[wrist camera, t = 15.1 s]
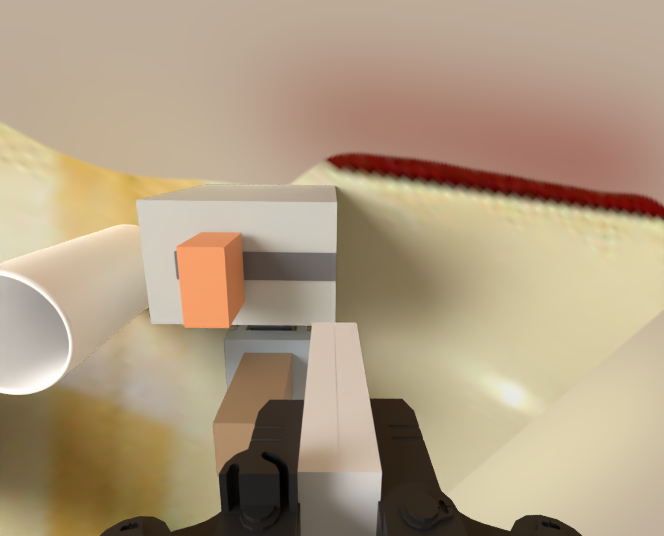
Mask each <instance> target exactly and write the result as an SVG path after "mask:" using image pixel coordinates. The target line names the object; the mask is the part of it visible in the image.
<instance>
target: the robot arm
mask: <svg viewBox="0 0 664 536" xmlns="http://www.w3.org/2000/svg"><path fill="white" fill-rule="evenodd" d="M219 485H220V497H221V510H222V511H221V512H220V513H219V514H217V515H215V516H214V517H212V518H211V519H209V520H207V521H204V522H202V523H199V524H197V525H194V526H190V527H187V528H183V529H180V530H176V531H173V532H170V530H169V528H168V527H167V525H166V523H165V522H163V521H161V520H159V519H157V518H155V517H147V516H138V517H135V518H131V519H127V520H124V521H121V522H119V523H118V524H116V525H114V526H112V527H110V528H109V529H107V530H105V531H104V532H103V533H102V534H101V535H100V536H582V535H581V534H580V533H578V532H577V531H576V530H575V529H574V528H572V527H570V526H568V525H566V524H564V523H563V522H561V521H559V520H557V519H554V518H550V517H546V516H543V515H526V516H524V517H522V518H520V519H518V520H516V521H515V523H514V525H513V527H512V529H511V531H507V530H504V529H500V528H497V527H493V526H490V525H487V524H483V523H480V522H478V521H475V520H473V519H470V518H469V517H467V516H465V515H464V514H462V513H460V512H459V511H458V510H457V508H456V506H455V505H454V503H453V501H452V500H451V499H450V498H449V497H447V496H446V495H445V494H444V493H443V492H442V491H441V489H440V487H439V484H438V481H437V478H436V475H435V472H434V469H433V466H432V463H431V460H430V457H429V454H428V451H427V448H426V445H425V442H424V440H423V436H422V433H421V430H420V428H419V424H418V421H417V418H416V416H415V413H414V410H413V409H412V408H411V407H410V406H409V405H408V404H407V403H406V402H405V401H404V400H403V399H369V393H368V387H367V381H366V376H365V370H364V364H363V358H362V352H361V346H360V340H359V334H358V328H357V323H335V322H312V329H311V339H310V349H309V359H308V370H307V380H306V390H305V400H269V401H268V402H267V403H266V404H265V405H264V406H263V407H262V408H261V409H260V410H259V411H258V415H257V418H256V422H255V426H254V429H253V433H252V437H251V441H250V444H249V448H248V449H247V450H244V451H242V452H240V453H237V454H235V455H234V456H233V457H232V458H231V459H229V460H228V461H227V462H226V463H225V464H224V466H223V467H222V469H221V471H220V472H219Z"/></svg>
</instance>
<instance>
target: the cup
mask: <svg viewBox="0 0 664 536" xmlns="http://www.w3.org/2000/svg"><path fill="white" fill-rule="evenodd" d="M148 307H149V303H148V295H147V287H146V278H145V270H144V262H143V254H142V246H141V238H140V229H139V226H136V225H128V224H125V225H117V226H113V227H110V228H107V229H104V230H101V231H98V232H95V233H92V234H88V235H85V236H82V237H79V238H76V239H73V240H70V241H67V242H64V243H61V244H57V245H54V246H51V247H48V248H45V249H42V250H39V251H36V252H33V253H30V254H26V255H23V256H20V257H17V258H14V259H11V260H8V261H5V262H2V263H0V393H4V394H11V395H25V394H32V393H36V392H39V391H42V390H44V389H47V388H48V387H50V386H52V385H53V384H55V383H57V382H58V381H59V380H61V379H62V378H63V377H64V376H65V375H67V374H68V373H69V372H70V371H72V370H73V369H74V368H75V367H76V366H78V365H79V364H80V363H81V362H83V361H84V360H85V359H86V358H87V357H89V356H90V355H91V354H92V353H93V352H95V351H96V350H97V349H98V348H99V347H101V346H102V345H103V344H104V343H106V342H107V341H108V340H109V339H110V338H112V337H113V336H114V335H115V334H116V333H118V332H119V331H120V330H121V329H122V328H124V327H125V326H126V325H127V324H129V323H130V322H131V321H132V320H133V319H135V318H136V317H137V316H138V315H139V314H141V313H142V312H143V311H144V310H146V309H147V308H148Z"/></svg>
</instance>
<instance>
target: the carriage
mask: <svg viewBox="0 0 664 536" xmlns="http://www.w3.org/2000/svg"><path fill="white" fill-rule="evenodd" d="M310 339H311V331H307V326H301V325H297V330H296V331H263V330H249V325H239V326H238V328H237V329H236V330H229V331H228V333H227V335H226V337H225V338H224V350H225V364H226V379H227V392H226V395H225V397H224V399H223V402H222V404H221V406H220V408H219V411H218V413H217V415H216V417H215V420H214V422H213V431H214V443H215V455H216V467H217V476H219V472H220V471H221V469H222V467H223V466H224V464H225V463H226V462H227V461H228V460H229V459H231V458H232V457H233V456H234V455H235V454H237V453H240V452H242V451H244V450H247V449H248V448H249V444H250V441H251V437H252V433H253V429H254V426H255V422H256V418H257V415H258V411H259V410H260V409H261V408H262V407H263V406H264V405H265V404H266V403H267V402H268V401H269V400H305V390H306V380H307V370H308V359H309V349H310Z"/></svg>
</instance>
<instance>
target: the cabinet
mask: <svg viewBox="0 0 664 536" xmlns="http://www.w3.org/2000/svg"><path fill="white" fill-rule="evenodd" d="M136 205H137V213H138V221H139V229H140V238H141V246H142V254H143V262H144V270H145V278H146V287H147V295H148V303H149V311H150V319H151V324H184V322H183V312H182V302H181V292H180V282H179V271H178V261H177V251H176V246H178V245H180V244H182V243H183V242H185V241H187V240H188V239H190V238H192V237H194V236H195V235H197V234H199V233H201V232H242V251H243V270H244V290H245V302H244V304H243V306H242V308H241V309H240V311H239V313H238V314H237V316H236V318H235V319H234V321H233V323H232V324H231V325H301V326H312V322H335V309H336V245H337V197H336V190H335V186H319V185H236V184H205V185H201V186H197V187H192V188H188V189H183V190H179V191H174V192H170V193H165V194H161V195H156V196H152V197H147V198H143V199H138V200H136Z"/></svg>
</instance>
